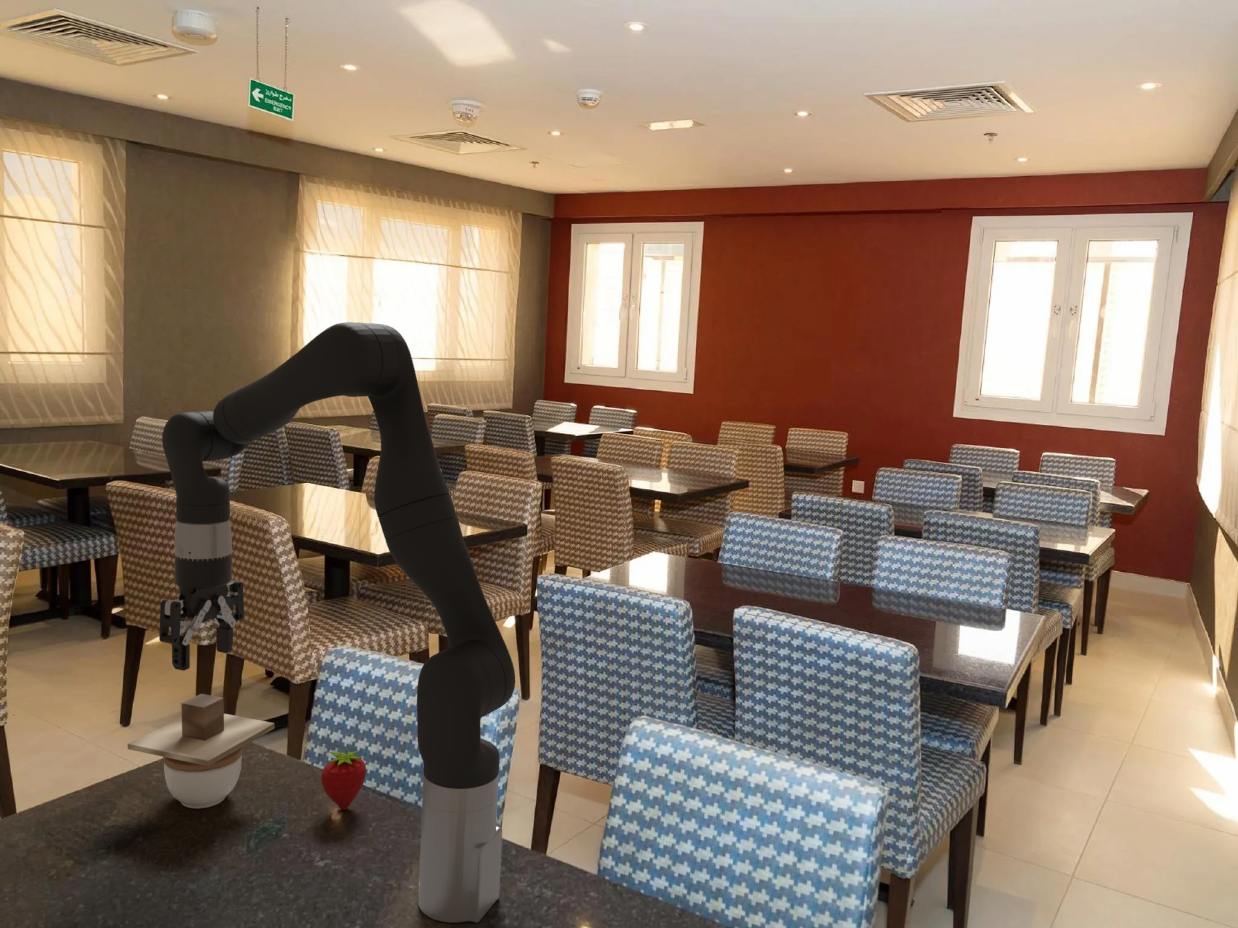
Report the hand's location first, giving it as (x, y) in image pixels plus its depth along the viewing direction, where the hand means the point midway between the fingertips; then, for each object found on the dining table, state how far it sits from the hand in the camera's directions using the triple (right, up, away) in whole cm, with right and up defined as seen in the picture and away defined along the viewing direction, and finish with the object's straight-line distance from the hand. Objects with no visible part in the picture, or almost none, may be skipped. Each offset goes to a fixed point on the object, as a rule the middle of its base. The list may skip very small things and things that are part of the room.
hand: (203, 660), depth 141 cm
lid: (-1, -12, +1) cm, 12 cm away
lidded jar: (-1, -21, +3) cm, 22 cm away
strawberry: (+20, -23, +2) cm, 30 cm away
